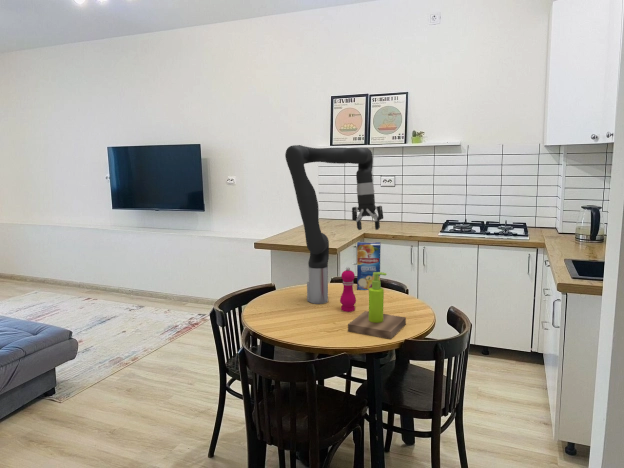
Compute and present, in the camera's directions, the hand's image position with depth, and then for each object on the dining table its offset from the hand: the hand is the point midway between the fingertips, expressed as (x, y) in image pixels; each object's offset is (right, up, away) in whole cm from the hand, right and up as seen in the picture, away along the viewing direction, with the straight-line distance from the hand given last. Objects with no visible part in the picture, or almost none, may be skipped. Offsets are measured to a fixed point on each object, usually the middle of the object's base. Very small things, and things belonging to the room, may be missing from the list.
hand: (368, 229), depth 208 cm
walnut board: (+1, -40, -18) cm, 44 cm away
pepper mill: (-9, -37, +5) cm, 38 cm away
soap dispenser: (+1, -37, -18) cm, 41 cm away
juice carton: (+5, -31, +39) cm, 50 cm away
